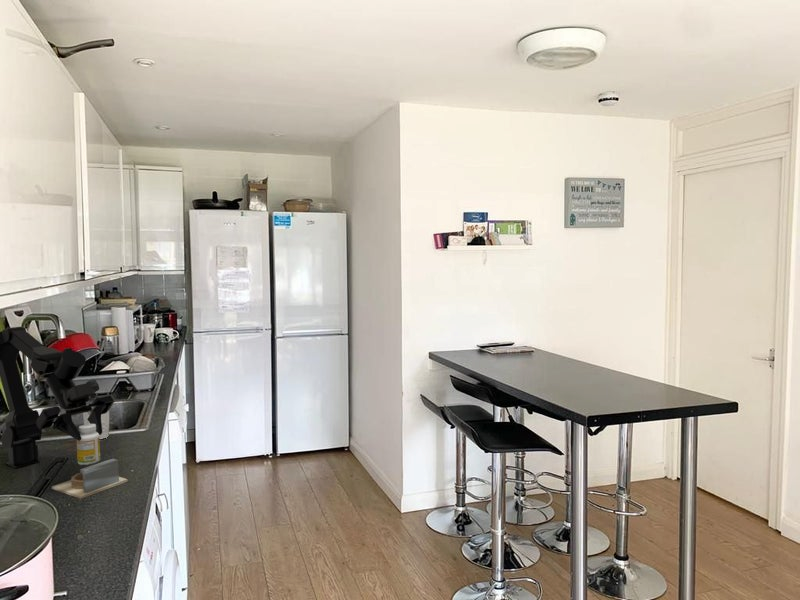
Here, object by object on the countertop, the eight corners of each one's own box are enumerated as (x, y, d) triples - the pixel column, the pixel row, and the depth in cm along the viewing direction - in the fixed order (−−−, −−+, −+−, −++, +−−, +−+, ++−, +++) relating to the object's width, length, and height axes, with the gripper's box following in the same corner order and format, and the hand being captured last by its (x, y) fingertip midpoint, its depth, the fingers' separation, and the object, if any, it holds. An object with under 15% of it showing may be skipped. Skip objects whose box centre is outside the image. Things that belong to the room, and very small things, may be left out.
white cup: (116, 435, 201) (114, 406, 200) (97, 443, 194) (95, 412, 193) (97, 433, 204) (96, 405, 203) (78, 440, 196) (76, 410, 195)
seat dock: (51, 488, 156) (50, 464, 155) (99, 472, 167) (97, 450, 166) (80, 498, 149) (78, 473, 149) (127, 481, 160) (126, 458, 160)
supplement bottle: (89, 457, 161) (87, 422, 160) (105, 459, 159) (103, 423, 159) (72, 464, 156) (70, 427, 155) (88, 466, 154) (87, 429, 154)
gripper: (39, 378, 150) (66, 428, 145) (109, 365, 166) (135, 410, 161) (24, 404, 155) (50, 453, 150) (93, 390, 170) (118, 434, 166)
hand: (90, 436), depth 156 cm, fingers closed on supplement bottle, 5 cm apart
